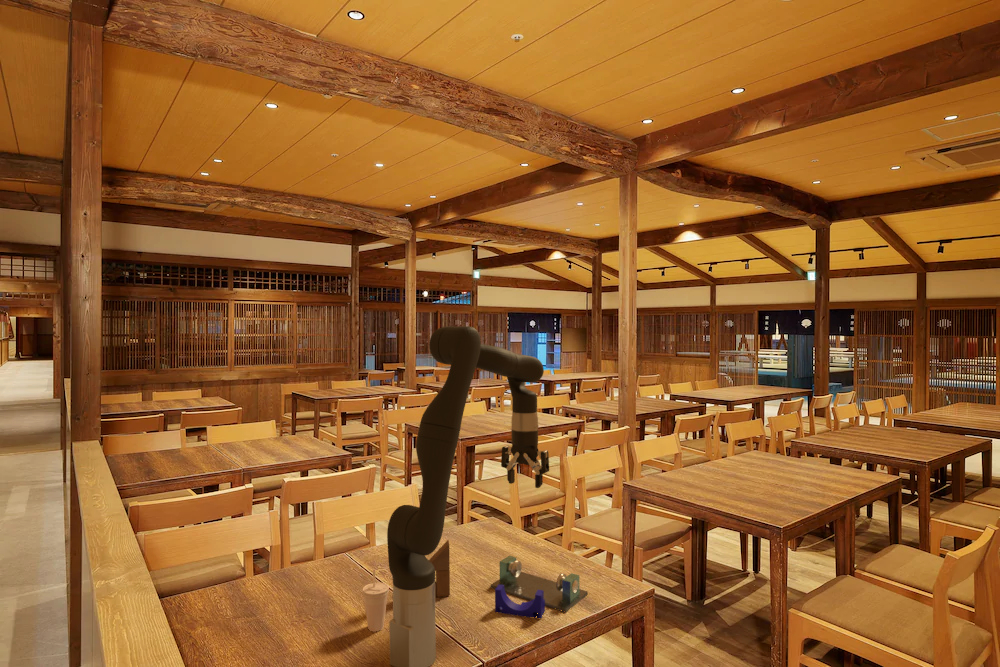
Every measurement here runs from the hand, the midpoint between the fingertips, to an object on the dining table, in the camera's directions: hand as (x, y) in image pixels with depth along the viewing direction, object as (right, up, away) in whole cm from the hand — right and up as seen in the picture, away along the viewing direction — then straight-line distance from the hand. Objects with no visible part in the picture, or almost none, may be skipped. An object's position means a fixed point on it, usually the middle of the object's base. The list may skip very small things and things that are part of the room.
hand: (524, 485), depth 158 cm
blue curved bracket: (-2, -29, -15) cm, 32 cm away
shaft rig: (+4, -28, -4) cm, 29 cm away
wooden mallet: (-26, -29, -6) cm, 39 cm away
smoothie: (-37, -29, -22) cm, 52 cm away
